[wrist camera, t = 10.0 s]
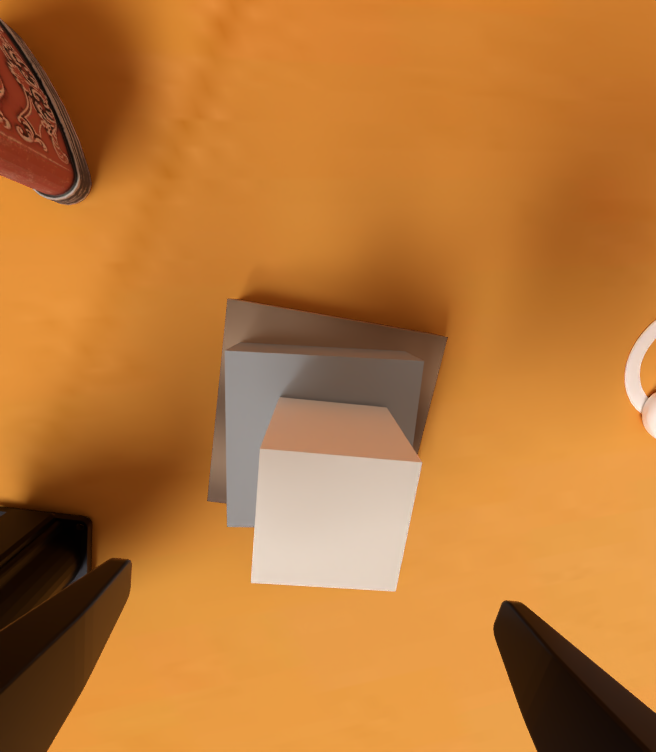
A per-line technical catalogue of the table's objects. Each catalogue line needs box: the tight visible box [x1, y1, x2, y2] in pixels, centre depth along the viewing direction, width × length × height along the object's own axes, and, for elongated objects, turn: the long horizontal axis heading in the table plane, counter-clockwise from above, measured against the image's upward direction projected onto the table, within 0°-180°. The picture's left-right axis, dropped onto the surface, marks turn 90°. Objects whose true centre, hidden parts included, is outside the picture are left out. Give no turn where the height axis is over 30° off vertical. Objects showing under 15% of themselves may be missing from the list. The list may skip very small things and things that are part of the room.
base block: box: [207, 299, 448, 503], centre depth 19 cm, size 12×12×3 cm
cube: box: [251, 397, 422, 591], centre depth 12 cm, size 5×5×5 cm
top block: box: [225, 342, 424, 527], centre depth 16 cm, size 9×9×3 cm
